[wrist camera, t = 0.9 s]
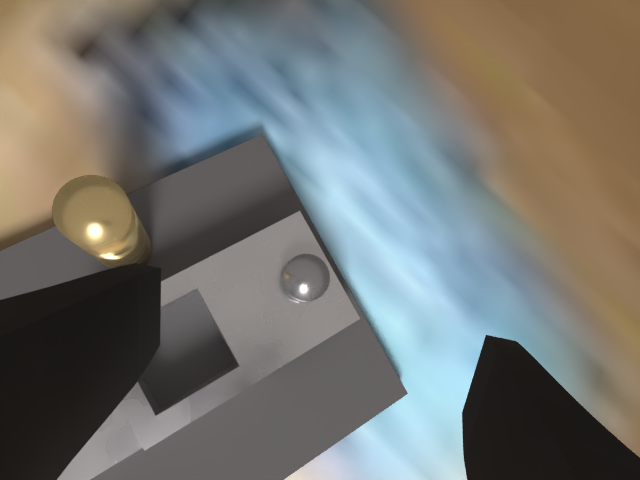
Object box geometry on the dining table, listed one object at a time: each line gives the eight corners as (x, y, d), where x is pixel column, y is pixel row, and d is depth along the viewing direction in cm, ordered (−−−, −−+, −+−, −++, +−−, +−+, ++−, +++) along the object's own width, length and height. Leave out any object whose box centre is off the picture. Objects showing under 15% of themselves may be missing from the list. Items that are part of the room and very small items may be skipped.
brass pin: (114, 282, 24) (72, 257, 16) (91, 239, 24) (38, 193, 16) (160, 259, 24) (142, 224, 17) (138, 217, 24) (109, 163, 17)
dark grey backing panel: (-18, 678, 20) (-28, 695, 19) (-184, 340, 21) (-203, 340, 20) (400, 391, 27) (407, 393, 26) (260, 140, 28) (262, 134, 27)
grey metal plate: (-32, 549, 20) (-73, 587, 17) (-96, 421, 21) (-148, 435, 18) (346, 320, 26) (365, 318, 23) (291, 221, 26) (303, 206, 23)
